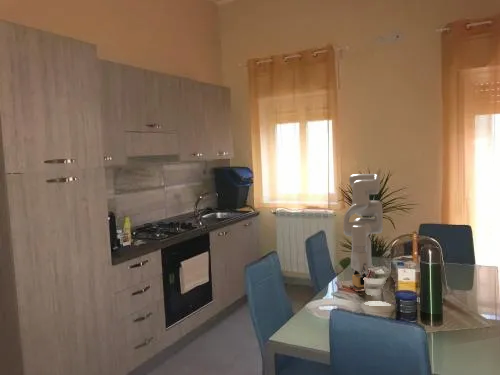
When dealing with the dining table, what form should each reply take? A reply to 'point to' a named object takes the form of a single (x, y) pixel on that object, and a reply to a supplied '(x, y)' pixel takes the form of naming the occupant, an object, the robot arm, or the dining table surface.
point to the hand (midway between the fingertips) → (360, 282)
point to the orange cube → (356, 280)
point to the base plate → (356, 287)
